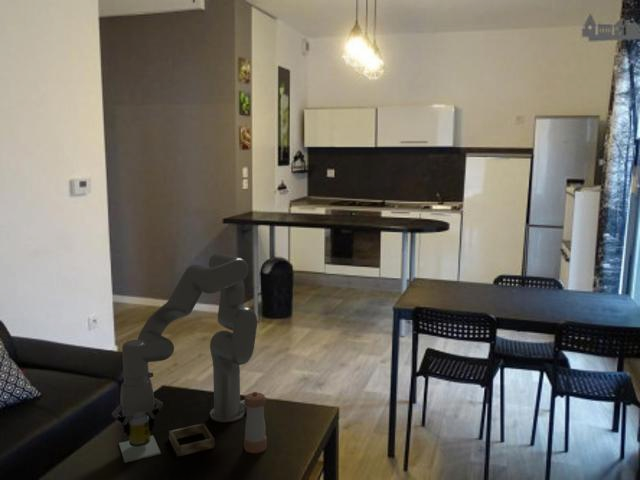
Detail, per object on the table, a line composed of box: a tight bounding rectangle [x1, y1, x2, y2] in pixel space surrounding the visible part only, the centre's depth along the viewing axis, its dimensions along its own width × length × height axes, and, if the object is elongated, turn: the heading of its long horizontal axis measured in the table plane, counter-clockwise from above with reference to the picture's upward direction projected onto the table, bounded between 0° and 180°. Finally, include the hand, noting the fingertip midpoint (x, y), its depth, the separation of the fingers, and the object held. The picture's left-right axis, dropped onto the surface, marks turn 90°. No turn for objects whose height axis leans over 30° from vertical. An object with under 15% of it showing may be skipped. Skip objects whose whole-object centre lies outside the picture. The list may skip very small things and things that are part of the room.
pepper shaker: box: [243, 391, 268, 454], centre depth 178 cm, size 7×7×19 cm
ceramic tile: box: [118, 435, 161, 463], centre depth 178 cm, size 11×12×1 cm
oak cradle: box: [168, 422, 216, 457], centre depth 182 cm, size 12×12×3 cm
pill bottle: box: [128, 412, 151, 447], centre depth 177 cm, size 6×6×12 cm
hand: (139, 431), depth 177 cm, fingers closed on pill bottle, 6 cm apart
